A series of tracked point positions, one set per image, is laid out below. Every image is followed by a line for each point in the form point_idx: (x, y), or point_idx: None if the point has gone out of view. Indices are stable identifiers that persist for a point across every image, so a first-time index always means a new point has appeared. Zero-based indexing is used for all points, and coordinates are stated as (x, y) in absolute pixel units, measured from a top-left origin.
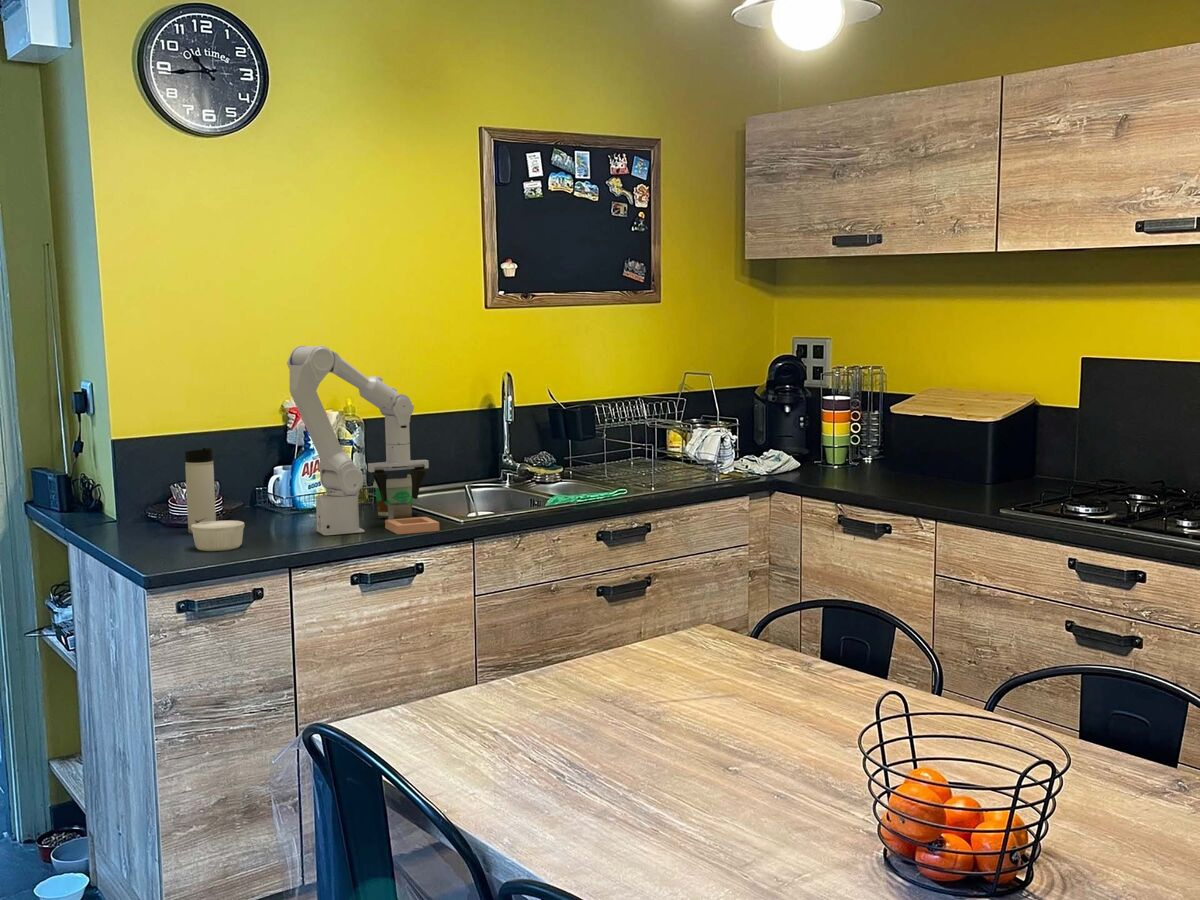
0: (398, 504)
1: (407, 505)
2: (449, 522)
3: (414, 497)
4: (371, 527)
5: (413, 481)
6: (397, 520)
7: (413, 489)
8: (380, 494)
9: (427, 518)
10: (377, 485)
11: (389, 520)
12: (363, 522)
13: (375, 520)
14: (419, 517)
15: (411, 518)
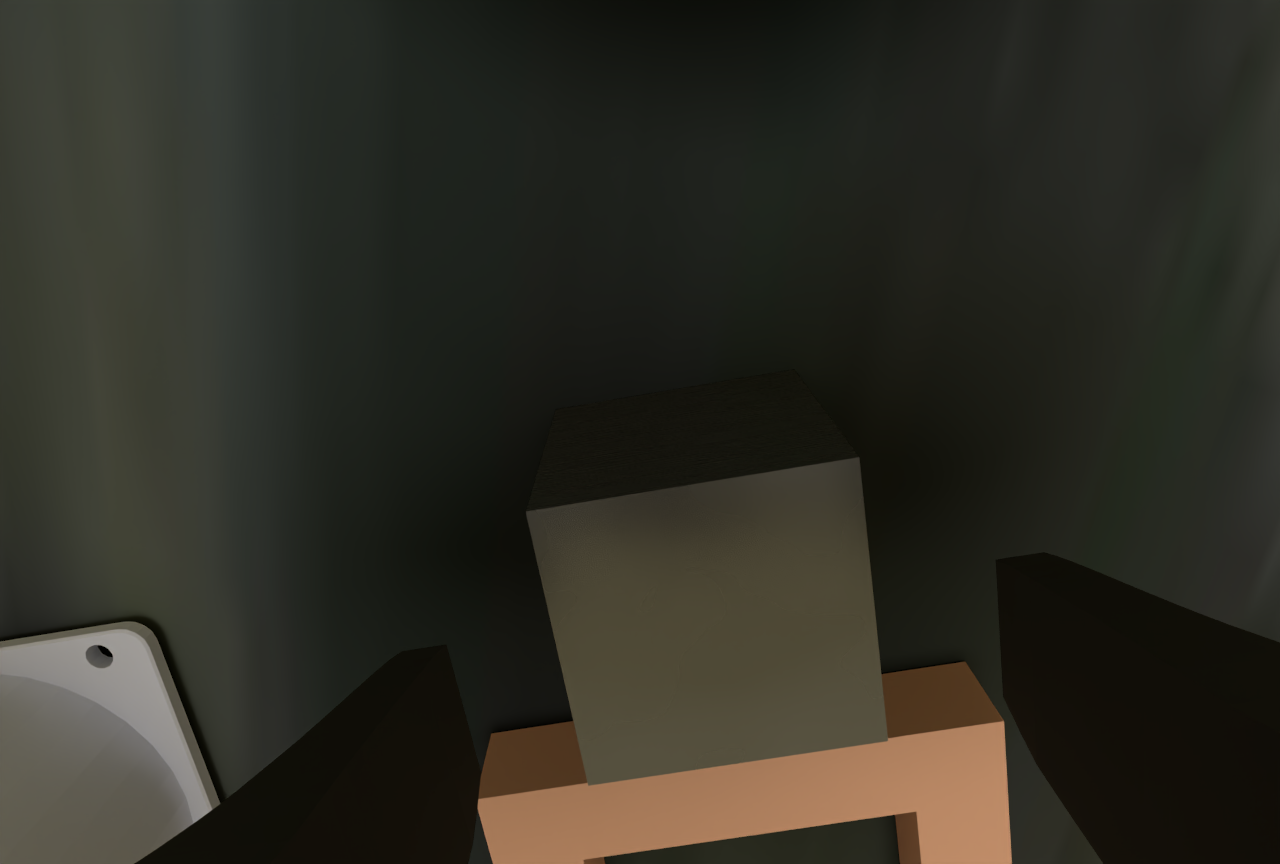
0: (689, 678)
1: (820, 743)
2: (1276, 576)
3: (1012, 698)
4: (339, 616)
5: (1220, 853)
6: (620, 852)
7: (1091, 725)
8: (341, 706)
9: (984, 855)
10: (188, 836)
11: (525, 850)
12: (228, 182)
13: (400, 49)
14: (914, 758)
15: (804, 796)
